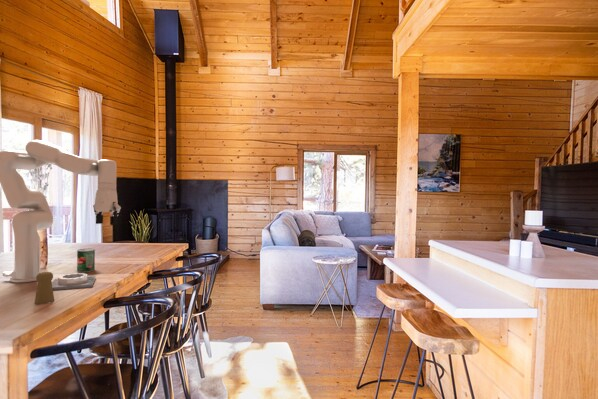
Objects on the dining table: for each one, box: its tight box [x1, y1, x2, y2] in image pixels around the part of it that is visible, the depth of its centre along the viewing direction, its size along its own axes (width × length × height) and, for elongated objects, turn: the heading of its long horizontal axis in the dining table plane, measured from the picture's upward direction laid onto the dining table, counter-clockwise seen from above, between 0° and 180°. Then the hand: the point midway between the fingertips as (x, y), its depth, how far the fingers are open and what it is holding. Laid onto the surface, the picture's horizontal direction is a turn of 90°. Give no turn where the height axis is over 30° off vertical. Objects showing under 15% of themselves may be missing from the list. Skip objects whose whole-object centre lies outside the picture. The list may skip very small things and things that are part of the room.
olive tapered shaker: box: [34, 271, 55, 305], centre depth 133 cm, size 6×6×11 cm
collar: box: [51, 272, 96, 291], centre depth 158 cm, size 16×16×4 cm
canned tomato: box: [76, 248, 96, 273], centre depth 184 cm, size 8×8×11 cm
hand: (106, 224), depth 162 cm, fingers open, 9 cm apart
